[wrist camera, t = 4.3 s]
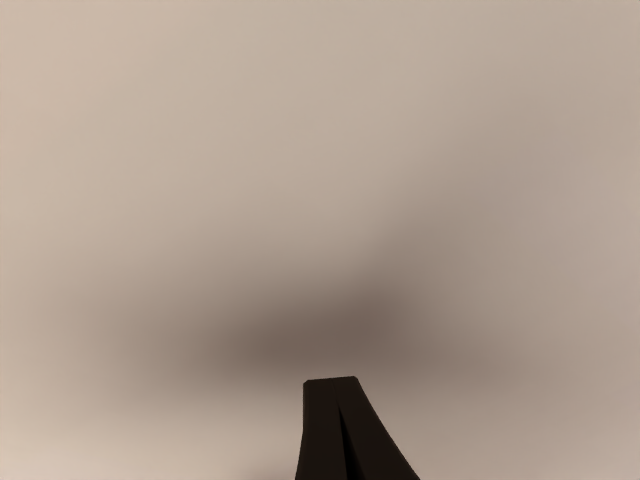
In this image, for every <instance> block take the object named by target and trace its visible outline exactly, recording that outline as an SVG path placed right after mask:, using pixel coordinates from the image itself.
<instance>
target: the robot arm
mask: <svg viewBox="0 0 640 480" xmlns="http://www.w3.org/2000/svg"><path fill="white" fill-rule="evenodd" d="M295 480H420V478H419V477H418V476H417V474H416V473H415V472H414V470H413V469H412V468H411V466H410V465H409V463H408V462H407V460H406V459H405V458H404V456H403V455H402V453H401V452H400V450H399V449H398V447H397V446H396V444H395V443H394V441H393V440H392V438H391V437H390V435H389V434H388V432H387V430H386V429H385V427H384V426H383V424H382V422H381V421H380V419H379V417H378V416H377V414H376V412H375V411H374V409H373V407H372V405H371V404H370V402H369V400H368V398H367V396H366V395H365V393H364V391H363V389H362V387H361V385H360V383H359V381H358V379H357V378H356V377H355V376H348V377H337V378H325V379H314V380H307V381H306V382H305V383H303V434H302V441H301V447H300V454H299V461H298V466H297V471H296V476H295Z"/></svg>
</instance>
